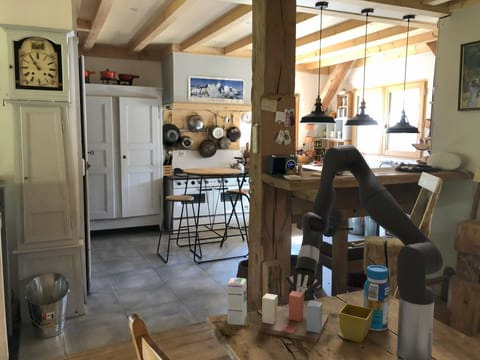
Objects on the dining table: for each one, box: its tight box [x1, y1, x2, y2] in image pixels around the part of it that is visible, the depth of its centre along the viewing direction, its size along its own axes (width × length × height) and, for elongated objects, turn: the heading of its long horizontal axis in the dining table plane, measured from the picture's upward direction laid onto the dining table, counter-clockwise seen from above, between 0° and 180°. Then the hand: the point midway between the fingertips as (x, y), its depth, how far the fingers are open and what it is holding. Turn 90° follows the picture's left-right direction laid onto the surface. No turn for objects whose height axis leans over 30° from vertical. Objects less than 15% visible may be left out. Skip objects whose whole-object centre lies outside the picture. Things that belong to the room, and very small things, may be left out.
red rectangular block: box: [288, 290, 305, 321], centre depth 140 cm, size 4×4×8 cm
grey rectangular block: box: [306, 300, 323, 333], centre depth 132 cm, size 4×4×8 cm
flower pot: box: [338, 303, 373, 344], centre depth 131 cm, size 9×9×9 cm
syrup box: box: [226, 277, 248, 326], centre depth 142 cm, size 6×6×14 cm
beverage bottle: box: [362, 264, 391, 332], centre depth 138 cm, size 8×8×20 cm
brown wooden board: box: [258, 305, 329, 344], centre depth 140 cm, size 19×18×2 cm
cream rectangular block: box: [261, 292, 279, 324], centre depth 138 cm, size 4×4×8 cm
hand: (298, 305), depth 143 cm, fingers closed
